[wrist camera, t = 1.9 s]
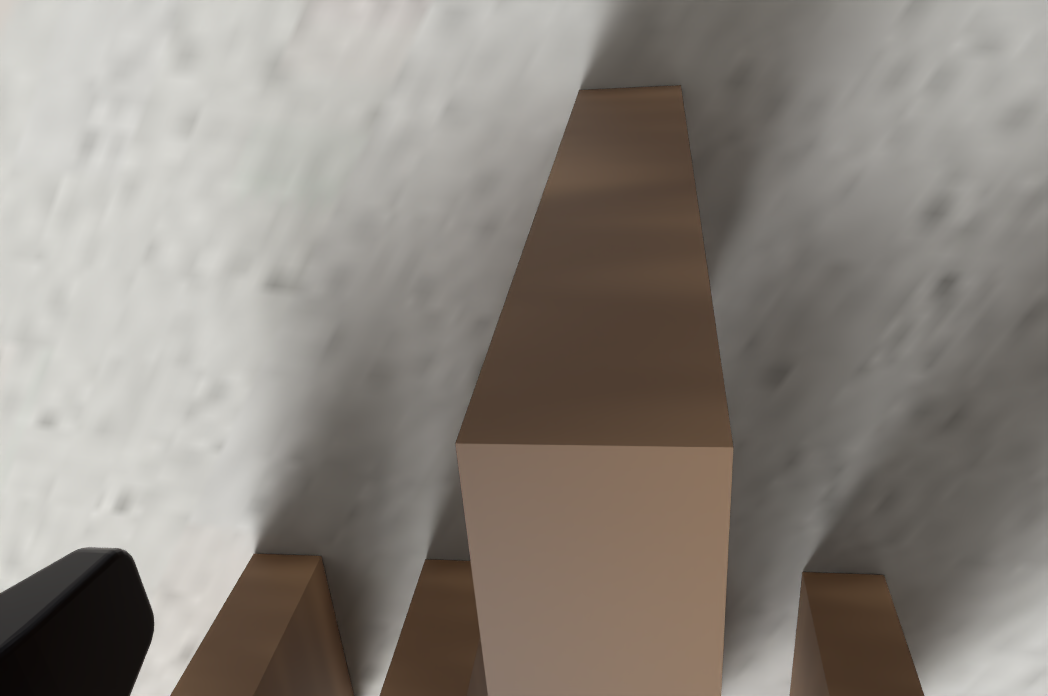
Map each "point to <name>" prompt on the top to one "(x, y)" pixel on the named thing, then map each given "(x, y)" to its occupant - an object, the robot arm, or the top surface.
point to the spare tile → (604, 426)
